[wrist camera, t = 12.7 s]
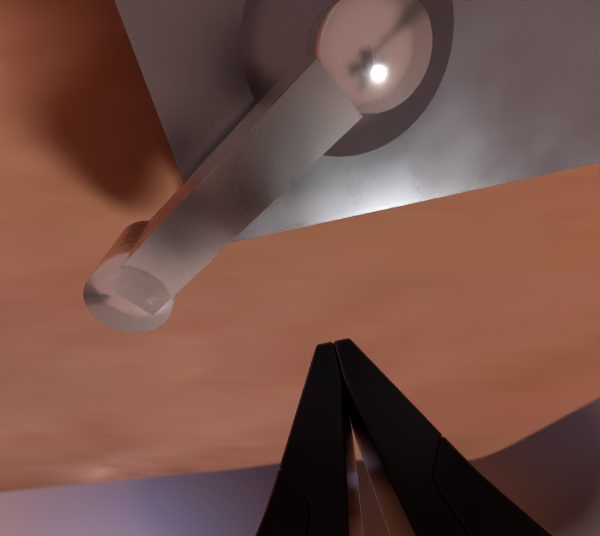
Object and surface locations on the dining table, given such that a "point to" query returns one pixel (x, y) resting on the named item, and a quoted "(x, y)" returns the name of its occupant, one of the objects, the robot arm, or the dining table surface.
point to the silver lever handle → (280, 135)
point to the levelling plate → (422, 133)
